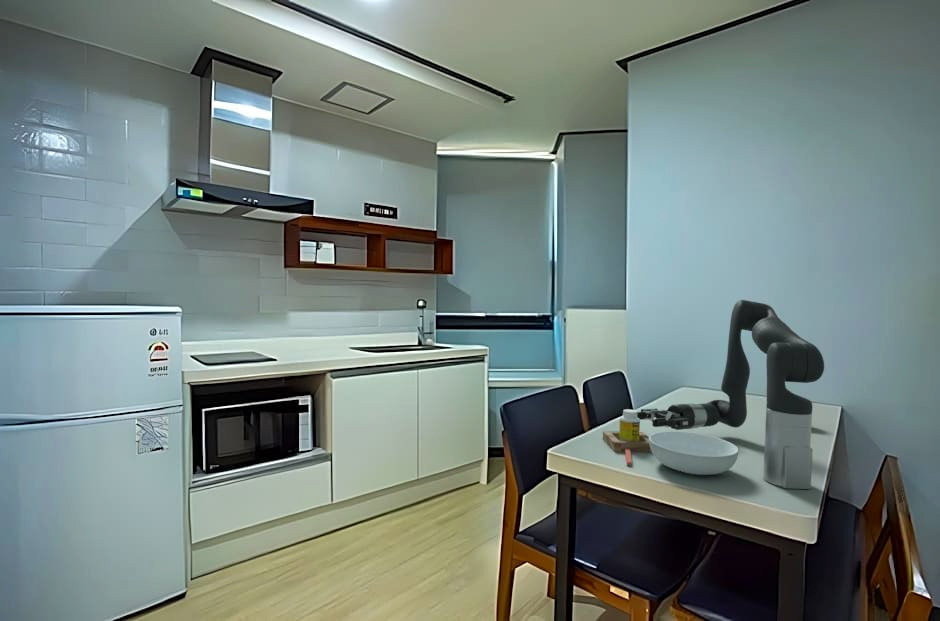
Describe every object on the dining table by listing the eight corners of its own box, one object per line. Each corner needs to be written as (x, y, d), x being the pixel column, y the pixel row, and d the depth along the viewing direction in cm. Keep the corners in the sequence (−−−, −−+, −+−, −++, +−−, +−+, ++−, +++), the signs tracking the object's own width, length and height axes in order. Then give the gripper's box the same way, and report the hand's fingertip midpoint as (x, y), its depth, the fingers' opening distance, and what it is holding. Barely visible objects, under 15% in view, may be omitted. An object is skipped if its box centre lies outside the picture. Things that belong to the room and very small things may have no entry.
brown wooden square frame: (656, 452, 143) (657, 443, 143) (613, 451, 143) (614, 442, 142) (642, 440, 155) (642, 432, 155) (602, 439, 155) (603, 431, 154)
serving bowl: (646, 475, 124) (647, 447, 124) (649, 452, 143) (650, 427, 143) (742, 490, 116) (744, 460, 116) (732, 463, 136) (733, 437, 135)
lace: (631, 466, 130) (631, 462, 130) (626, 465, 130) (626, 461, 130) (629, 452, 142) (629, 449, 142) (625, 452, 142) (625, 448, 142)
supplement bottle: (632, 449, 145) (634, 413, 144) (615, 445, 149) (616, 410, 148) (642, 446, 149) (643, 411, 148) (625, 441, 153) (626, 407, 152)
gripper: (670, 399, 162) (628, 401, 156) (705, 409, 149) (660, 412, 143) (669, 422, 162) (627, 426, 157) (704, 434, 149) (659, 438, 143)
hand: (643, 419), depth 150 cm, fingers open, 8 cm apart
